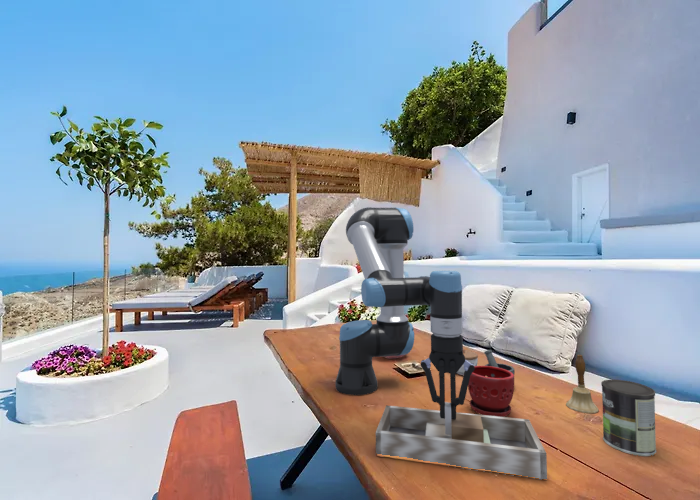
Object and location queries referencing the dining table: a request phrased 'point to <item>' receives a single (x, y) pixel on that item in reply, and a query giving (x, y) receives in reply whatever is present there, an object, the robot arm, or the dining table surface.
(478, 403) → the plant pot
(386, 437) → the box
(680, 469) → the dining table surface
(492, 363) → the mortar and pestle
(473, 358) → the lidded jar
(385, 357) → the cell model
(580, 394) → the hand bell
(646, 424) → the coffee can
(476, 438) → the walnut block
